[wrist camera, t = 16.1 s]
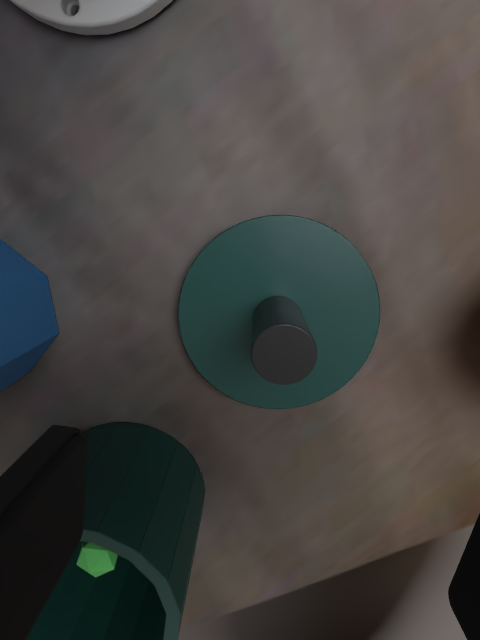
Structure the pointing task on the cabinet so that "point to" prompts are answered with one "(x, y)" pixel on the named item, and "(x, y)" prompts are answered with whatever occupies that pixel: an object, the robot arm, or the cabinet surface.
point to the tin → (130, 540)
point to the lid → (279, 311)
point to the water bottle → (23, 316)
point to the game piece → (96, 559)
